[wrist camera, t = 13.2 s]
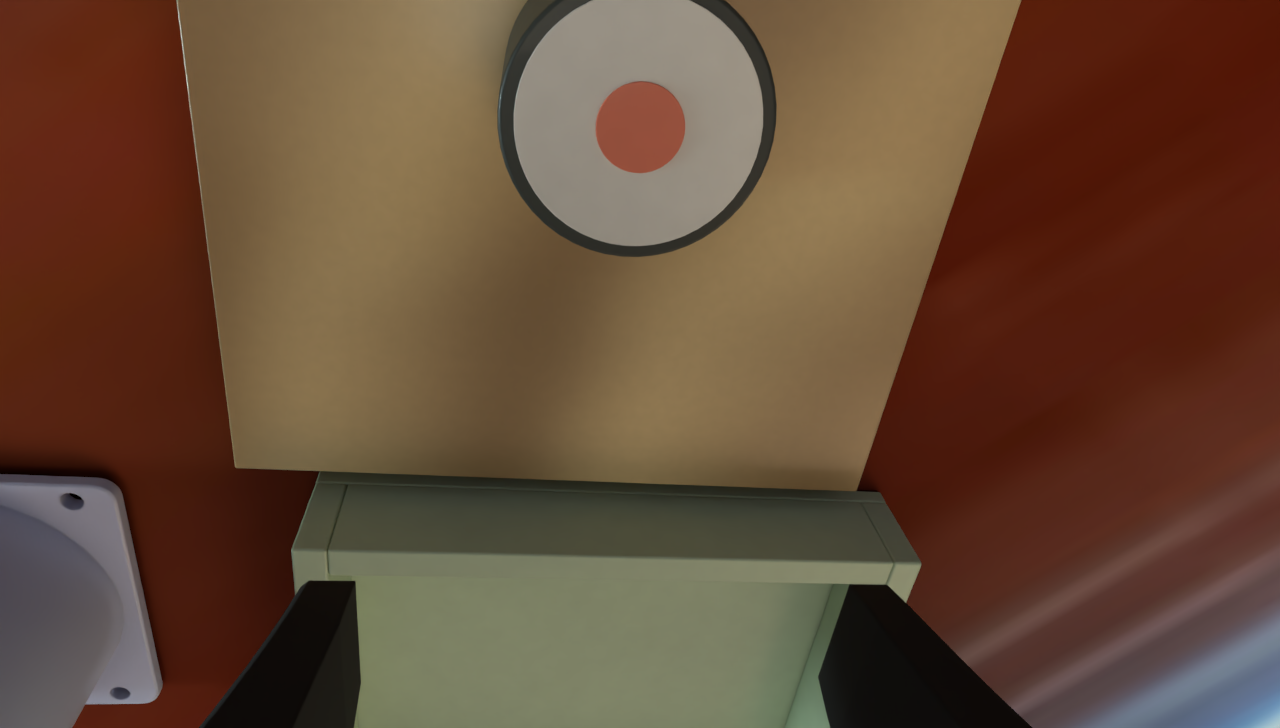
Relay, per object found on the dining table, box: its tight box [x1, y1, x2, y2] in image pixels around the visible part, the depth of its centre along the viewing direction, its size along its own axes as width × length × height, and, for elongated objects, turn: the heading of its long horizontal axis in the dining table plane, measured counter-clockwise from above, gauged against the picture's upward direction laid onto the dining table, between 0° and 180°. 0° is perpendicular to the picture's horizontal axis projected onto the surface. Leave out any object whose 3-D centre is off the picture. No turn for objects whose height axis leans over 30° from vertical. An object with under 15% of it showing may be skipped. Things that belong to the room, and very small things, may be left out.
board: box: [176, 0, 1021, 491], centre depth 16 cm, size 16×20×1 cm
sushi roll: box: [497, 0, 777, 257], centre depth 14 cm, size 4×4×4 cm
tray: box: [291, 471, 921, 728], centre depth 24 cm, size 16×14×3 cm
